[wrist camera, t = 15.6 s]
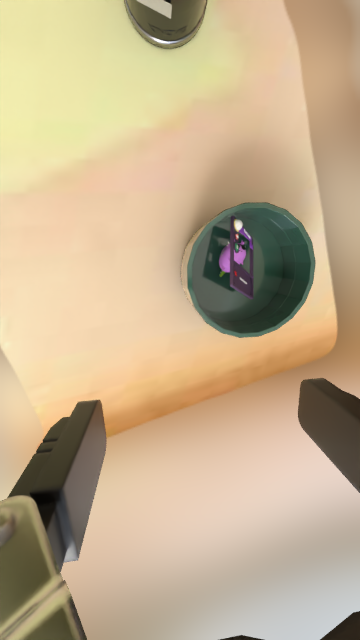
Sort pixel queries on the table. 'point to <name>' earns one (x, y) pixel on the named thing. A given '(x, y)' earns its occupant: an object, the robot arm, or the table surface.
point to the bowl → (268, 270)
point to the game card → (237, 260)
